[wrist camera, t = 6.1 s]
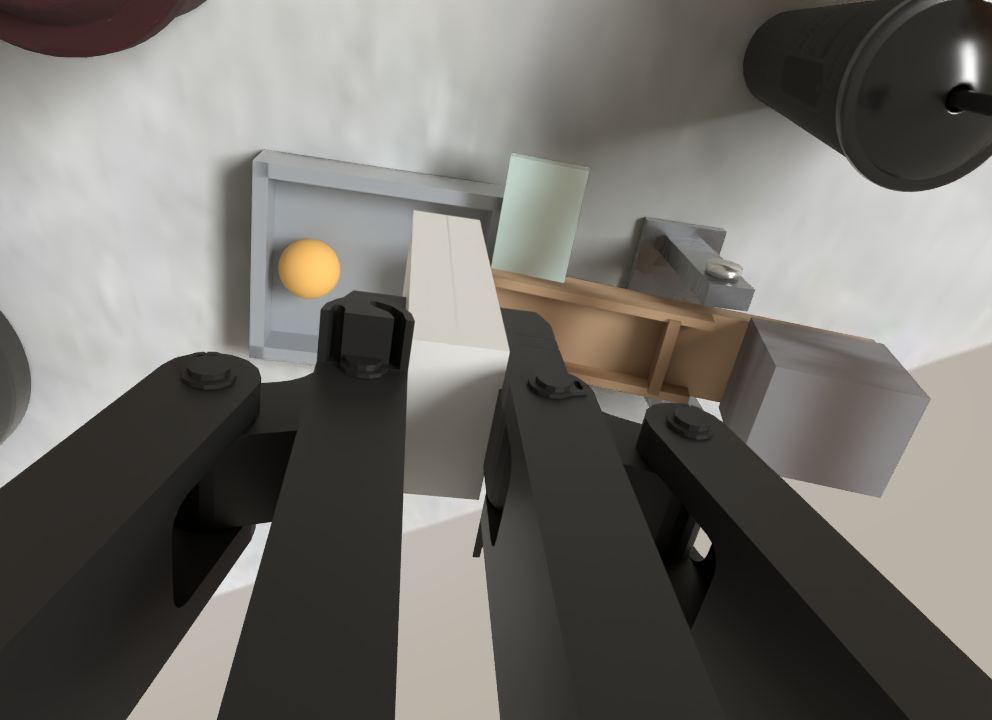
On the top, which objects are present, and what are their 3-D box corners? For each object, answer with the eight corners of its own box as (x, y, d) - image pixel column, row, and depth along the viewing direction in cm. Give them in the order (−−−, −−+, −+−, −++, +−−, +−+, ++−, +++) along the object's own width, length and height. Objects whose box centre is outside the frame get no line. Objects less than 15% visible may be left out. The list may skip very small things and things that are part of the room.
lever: (428, 336, 42) (398, 394, 36) (456, 140, 37) (426, 167, 31) (836, 422, 41) (880, 497, 35) (921, 233, 36) (991, 281, 30)
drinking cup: (769, 159, 42) (1009, 286, 25) (690, 60, 40) (898, 126, 22) (880, 58, 40) (1229, 120, 23) (805, -53, 37) (1139, -83, 20)
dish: (259, 336, 45) (249, 357, 43) (263, 149, 40) (252, 160, 37) (474, 361, 47) (476, 382, 45) (505, 186, 42) (509, 198, 39)
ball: (270, 303, 40) (331, 312, 40) (271, 244, 39) (335, 255, 39) (286, 281, 43) (343, 290, 43) (288, 226, 42) (347, 236, 42)
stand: (604, 368, 48) (636, 440, 41) (645, 217, 43) (690, 267, 36) (675, 376, 49) (720, 449, 41) (723, 228, 44) (783, 280, 37)
